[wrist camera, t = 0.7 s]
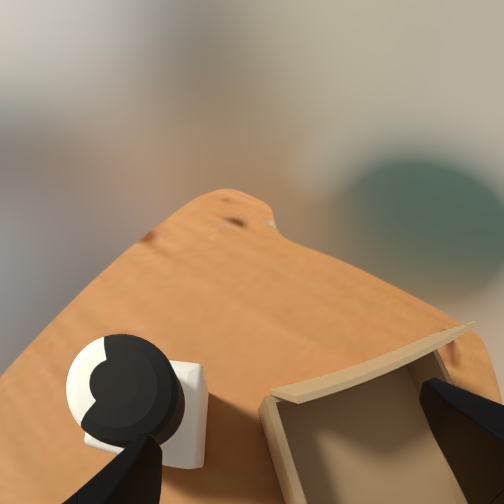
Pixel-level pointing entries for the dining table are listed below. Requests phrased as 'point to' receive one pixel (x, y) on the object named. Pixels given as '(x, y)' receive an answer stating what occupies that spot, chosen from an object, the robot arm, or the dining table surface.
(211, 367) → the dining table surface
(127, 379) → the medicine bottle
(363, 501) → the carton
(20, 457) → the dining table surface
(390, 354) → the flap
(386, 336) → the dining table surface
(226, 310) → the dining table surface
